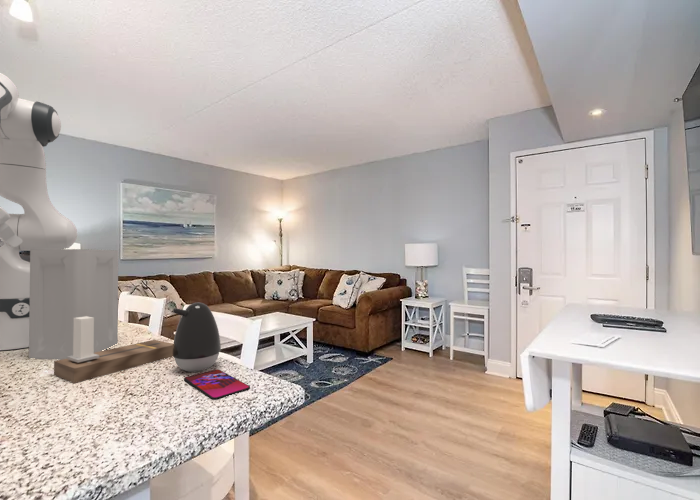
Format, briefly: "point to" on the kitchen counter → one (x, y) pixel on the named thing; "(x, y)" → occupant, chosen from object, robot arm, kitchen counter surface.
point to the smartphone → (216, 384)
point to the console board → (113, 360)
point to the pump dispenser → (196, 338)
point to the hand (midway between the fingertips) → (8, 245)
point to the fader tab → (83, 340)
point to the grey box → (71, 299)
